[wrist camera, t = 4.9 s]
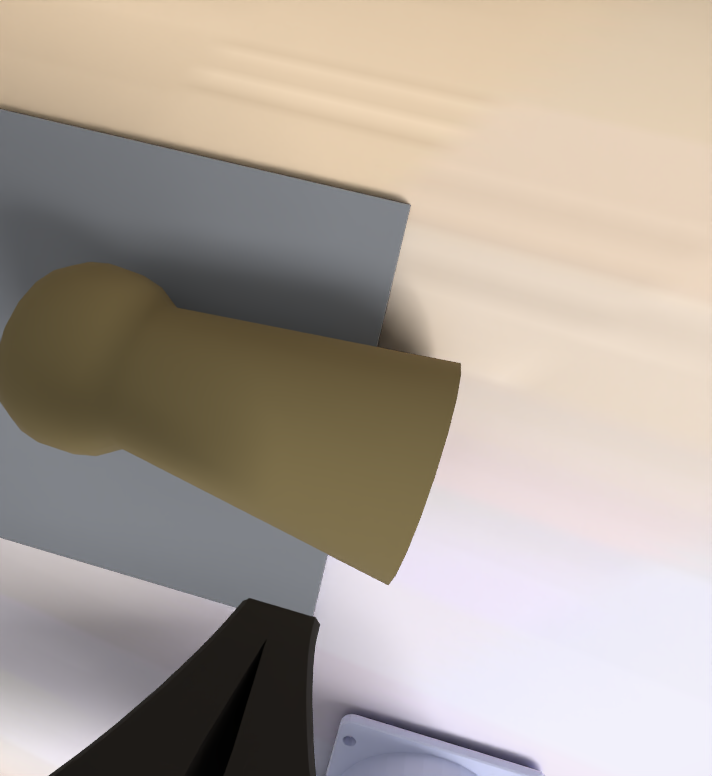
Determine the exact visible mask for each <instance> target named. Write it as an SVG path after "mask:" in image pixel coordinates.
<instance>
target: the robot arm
mask: <svg viewBox="0 0 712 776" xmlns="http://www.w3.org/2000/svg"><path fill="white" fill-rule="evenodd" d="M319 627H320V623H319V622H318V620H317V619H316V617H313V616H309V615H306V614H303V613H299V612H296V611H292V610H289V609H286V608H282V607H279V606H275V605H272V604H269V603H265V602H262V601H258V600H255V599H252V598H248V599H246V600H244V601H242V602H241V604H240V605H239V606H238V607H237V609H236V610H235V611H234V612H233V613H232V614H231V616H230V617H229V618H228V619H227V620H226V621H225V622H224V623H223V625H222V626H221V627H220V628H219V629H218V630H217V631H216V632H215V633H214V634H213V635H212V636H211V637H210V638H209V639H208V640H207V641H206V642H205V643H204V645H203V646H202V647H201V648H200V649H199V650H198V651H197V652H196V653H195V654H194V655H192V656H191V657H190V658H189V659H188V660H187V661H186V662H185V663H184V664H183V665H182V666H181V667H180V668H179V669H178V670H177V671H176V672H175V673H174V674H172V675H171V676H170V677H169V678H168V679H167V680H166V681H165V682H164V683H163V684H162V685H161V686H160V687H159V688H157V689H156V690H155V691H154V692H153V693H152V694H151V695H149V696H148V697H147V698H146V699H145V700H143V701H142V702H141V703H140V704H139V705H138V706H136V707H135V708H134V709H133V710H132V711H131V712H129V713H128V714H127V715H126V716H125V717H124V718H122V719H121V720H120V721H119V722H118V723H117V724H115V725H114V726H113V727H112V728H110V729H109V730H108V731H107V732H105V733H104V734H103V735H102V736H100V737H99V738H98V739H97V740H95V741H94V742H93V743H92V744H90V745H89V746H88V747H86V748H85V749H84V750H82V751H81V752H80V753H79V754H77V755H76V756H75V757H73V758H72V759H70V760H69V761H68V762H66V763H65V764H64V765H62V766H61V767H60V768H58V769H57V770H56V771H54V772H53V773H52V774H50V775H49V776H316V771H315V759H314V743H313V712H312V683H313V663H314V653H315V645H316V639H317V635H318V631H319ZM349 736H351V737H349ZM325 776H545V775H544V774H543V773H542V772H540V771H538V770H535V769H532V768H529V767H525V766H522V765H519V764H516V763H512V762H509V761H506V760H503V759H499V758H496V757H493V756H490V755H486V754H483V753H480V752H476V751H473V750H470V749H467V748H463V747H460V746H457V745H454V744H450V743H447V742H444V741H441V740H437V739H434V738H431V737H428V736H424V735H421V734H418V733H415V732H411V731H408V730H405V729H401V728H398V727H395V726H392V725H388V724H385V723H382V722H379V721H375V720H372V719H369V718H366V717H362V716H359V715H355V714H348V715H345V716H344V717H343V718H342V719H341V722H340V726H339V729H338V733H337V736H336V740H335V743H334V747H333V750H332V754H331V757H330V761H329V764H328V768H327V771H326V775H325Z"/></svg>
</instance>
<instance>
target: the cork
mask: <svg viewBox="0 0 712 776" xmlns="http://www.w3.org/2000/svg"><path fill="white" fill-rule="evenodd" d="M460 377H461V363H456V362H451V361H446V360H441V359H436V358H431V357H426V356H421V355H415V354H410V353H405V352H400V351H395V350H390V349H385V348H380V347H375V346H370V345H365V344H360V343H355V342H349V341H344V340H339V339H334V338H329V337H324V336H319V335H314V334H309V333H304V332H299V331H294V330H288V329H283V328H278V327H273V326H268V325H263V324H258V323H253V322H248V321H243V320H238V319H233V318H228V317H222V316H217V315H212V314H207V313H202V312H197V311H192V310H187V309H182V308H177V307H176V306H175V304H174V303H173V302H172V300H171V299H170V298H169V296H168V295H167V294H166V292H165V291H164V290H163V288H162V287H160V286H159V285H157V284H156V283H154V282H153V281H151V280H150V279H148V278H147V277H145V276H143V275H141V274H138V273H135V272H132V271H130V270H127V269H124V268H121V267H118V266H115V265H113V264H110V263H98V262H86V263H81V264H77V265H72V266H68V267H64V268H60V269H56V270H53V271H52V272H50V273H49V274H47V275H46V276H44V277H43V278H41V279H40V280H38V281H37V282H35V284H34V285H33V286H32V287H31V288H30V289H29V290H28V292H27V293H26V294H25V295H24V296H23V297H22V299H21V300H20V301H19V302H18V304H17V306H16V308H15V309H14V311H13V313H12V315H11V317H10V319H9V320H8V322H7V324H6V326H5V328H4V332H3V335H2V338H1V342H0V402H1V404H2V405H3V407H4V408H5V410H6V411H7V413H8V414H9V416H10V417H11V418H12V420H13V421H14V422H15V423H16V425H17V426H18V427H19V429H20V430H21V431H22V432H24V433H25V434H27V435H28V436H29V437H31V438H32V439H34V440H35V441H37V442H38V443H41V444H44V445H47V446H50V447H53V448H56V449H59V450H62V451H65V452H68V453H71V454H77V455H88V456H99V455H103V454H107V453H110V452H114V451H118V450H122V449H123V450H125V451H127V452H129V453H131V454H133V455H135V456H137V457H139V458H141V459H143V460H145V461H147V462H148V463H150V464H152V465H154V466H156V467H158V468H160V469H162V470H164V471H166V472H168V473H170V474H172V475H174V476H176V477H178V478H180V479H182V480H184V481H186V482H188V483H189V484H191V485H193V486H195V487H197V488H199V489H201V490H203V491H205V492H207V493H209V494H211V495H213V496H215V497H217V498H219V499H221V500H223V501H225V502H227V503H229V504H231V505H232V506H234V507H236V508H238V509H240V510H242V511H244V512H246V513H248V514H250V515H252V516H254V517H256V518H258V519H260V520H262V521H264V522H266V523H268V524H270V525H272V526H273V527H275V528H277V529H279V530H281V531H283V532H285V533H287V534H289V535H291V536H293V537H295V538H297V539H299V540H301V541H303V542H305V543H307V544H309V545H311V546H313V547H314V548H316V549H318V550H320V551H322V552H324V553H326V554H328V555H330V556H332V557H334V558H336V559H338V560H340V561H342V562H344V563H346V564H348V565H350V566H352V567H354V568H355V569H357V570H359V571H361V572H363V573H365V574H367V575H369V576H371V577H373V578H375V579H377V580H379V581H381V582H383V583H385V584H387V585H389V584H390V582H391V581H392V580H393V578H394V577H395V576H396V574H397V572H398V569H399V567H400V565H401V563H402V561H403V559H404V557H405V555H406V553H407V551H408V548H409V546H410V543H411V541H412V538H413V536H414V533H415V531H416V528H417V526H418V523H419V521H420V518H421V515H422V512H423V509H424V507H425V504H426V501H427V498H428V495H429V492H430V489H431V486H432V483H433V481H434V478H435V475H436V471H437V468H438V465H439V462H440V458H441V455H442V452H443V448H444V445H445V442H446V438H447V435H448V431H449V427H450V423H451V419H452V415H453V411H454V408H455V404H456V400H457V394H458V389H459V383H460Z"/></svg>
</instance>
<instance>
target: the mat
mask: <svg viewBox="0 0 712 776" xmlns="http://www.w3.org/2000/svg"><path fill="white" fill-rule="evenodd" d="M410 207H411V205H410V204H406V203H401V202H397V201H393V200H388V199H384V198H380V197H376V196H371V195H367V194H363V193H358V192H354V191H350V190H346V189H341V188H337V187H333V186H329V185H324V184H320V183H316V182H311V181H307V180H303V179H299V178H294V177H290V176H286V175H281V174H277V173H273V172H269V171H264V170H260V169H256V168H252V167H247V166H243V165H239V164H234V163H230V162H226V161H222V160H217V159H213V158H209V157H205V156H200V155H196V154H192V153H187V152H183V151H179V150H175V149H170V148H166V147H162V146H157V145H153V144H149V143H145V142H140V141H136V140H132V139H128V138H123V137H119V136H115V135H110V134H106V133H102V132H98V131H93V130H89V129H85V128H80V127H76V126H72V125H68V124H63V123H59V122H55V121H51V120H46V119H42V118H38V117H33V116H29V115H25V114H21V113H16V112H12V111H8V110H3V109H0V342H1V338H2V335H3V332H4V328H5V326H6V324H7V322H8V320H9V319H10V317H11V315H12V313H13V311H14V309H15V308H16V306H17V304H18V302H19V301H20V300H21V299H22V297H23V296H24V295H25V294H26V293H27V292H28V290H29V289H30V288H31V287H32V286H33V285H34V284H35V282H37V281H38V280H40V279H41V278H43V277H44V276H46V275H47V274H49V273H50V272H52V271H53V270H56V269H60V268H64V267H68V266H72V265H77V264H81V263H86V262H98V263H110V264H113V265H115V266H118V267H121V268H124V269H127V270H130V271H132V272H135V273H138V274H141V275H143V276H145V277H147V278H148V279H150V280H151V281H153V282H154V283H156V284H157V285H159V286H160V287H162V288H163V290H164V291H165V292H166V294H167V295H168V296H169V298H170V299H171V300H172V302H173V303H174V304H175V306H176V307H177V308H182V309H187V310H192V311H197V312H202V313H207V314H212V315H217V316H222V317H228V318H233V319H238V320H243V321H248V322H253V323H258V324H263V325H268V326H273V327H278V328H283V329H288V330H294V331H299V332H304V333H309V334H314V335H319V336H324V337H329V338H334V339H339V340H344V341H349V342H355V343H360V344H365V345H370V346H375V347H377V345H378V341H379V337H380V333H381V329H382V324H383V320H384V316H385V312H386V308H387V303H388V299H389V295H390V291H391V287H392V282H393V278H394V274H395V270H396V266H397V261H398V257H399V253H400V249H401V244H402V240H403V236H404V232H405V228H406V223H407V219H408V215H409V211H410ZM0 538H3V539H7V540H10V541H13V542H17V543H20V544H23V545H27V546H30V547H33V548H37V549H40V550H44V551H47V552H50V553H54V554H57V555H60V556H64V557H67V558H71V559H74V560H77V561H81V562H84V563H87V564H91V565H94V566H98V567H101V568H104V569H108V570H111V571H114V572H118V573H121V574H124V575H128V576H131V577H135V578H138V579H141V580H145V581H148V582H151V583H155V584H158V585H162V586H165V587H168V588H172V589H175V590H178V591H182V592H185V593H189V594H192V595H195V596H199V597H202V598H205V599H209V600H212V601H216V602H219V603H222V604H226V605H229V606H232V607H236V608H237V607H238V606H239V605H240V604H241V602H242V601H244V600H246V599H248V598H252V599H255V600H258V601H262V602H265V603H269V604H272V605H275V606H279V607H282V608H286V609H289V610H292V611H296V612H299V613H303V614H306V615H309V616H313V615H314V610H315V606H316V602H317V598H318V593H319V589H320V585H321V581H322V577H323V572H324V568H325V564H326V560H327V556H328V554H326V553H324V552H322V551H320V550H318V549H316V548H314V547H313V546H311V545H309V544H307V543H305V542H303V541H301V540H299V539H297V538H295V537H293V536H291V535H289V534H287V533H285V532H283V531H281V530H279V529H277V528H275V527H273V526H272V525H270V524H268V523H266V522H264V521H262V520H260V519H258V518H256V517H254V516H252V515H250V514H248V513H246V512H244V511H242V510H240V509H238V508H236V507H234V506H232V505H231V504H229V503H227V502H225V501H223V500H221V499H219V498H217V497H215V496H213V495H211V494H209V493H207V492H205V491H203V490H201V489H199V488H197V487H195V486H193V485H191V484H189V483H188V482H186V481H184V480H182V479H180V478H178V477H176V476H174V475H172V474H170V473H168V472H166V471H164V470H162V469H160V468H158V467H156V466H154V465H152V464H150V463H148V462H147V461H145V460H143V459H141V458H139V457H137V456H135V455H133V454H131V453H129V452H127V451H125V450H123V449H122V450H118V451H114V452H110V453H107V454H103V455H99V456H88V455H77V454H71V453H68V452H65V451H62V450H59V449H56V448H53V447H50V446H47V445H44V444H41V443H38V442H37V441H35V440H34V439H32V438H31V437H29V436H28V435H27V434H25V433H24V432H22V431H21V430H20V429H19V427H18V426H17V425H16V423H15V422H14V421H13V420H12V418H11V417H10V416H9V414H8V413H7V411H6V410H5V408H4V407H3V405H2V404H1V402H0Z"/></svg>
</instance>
